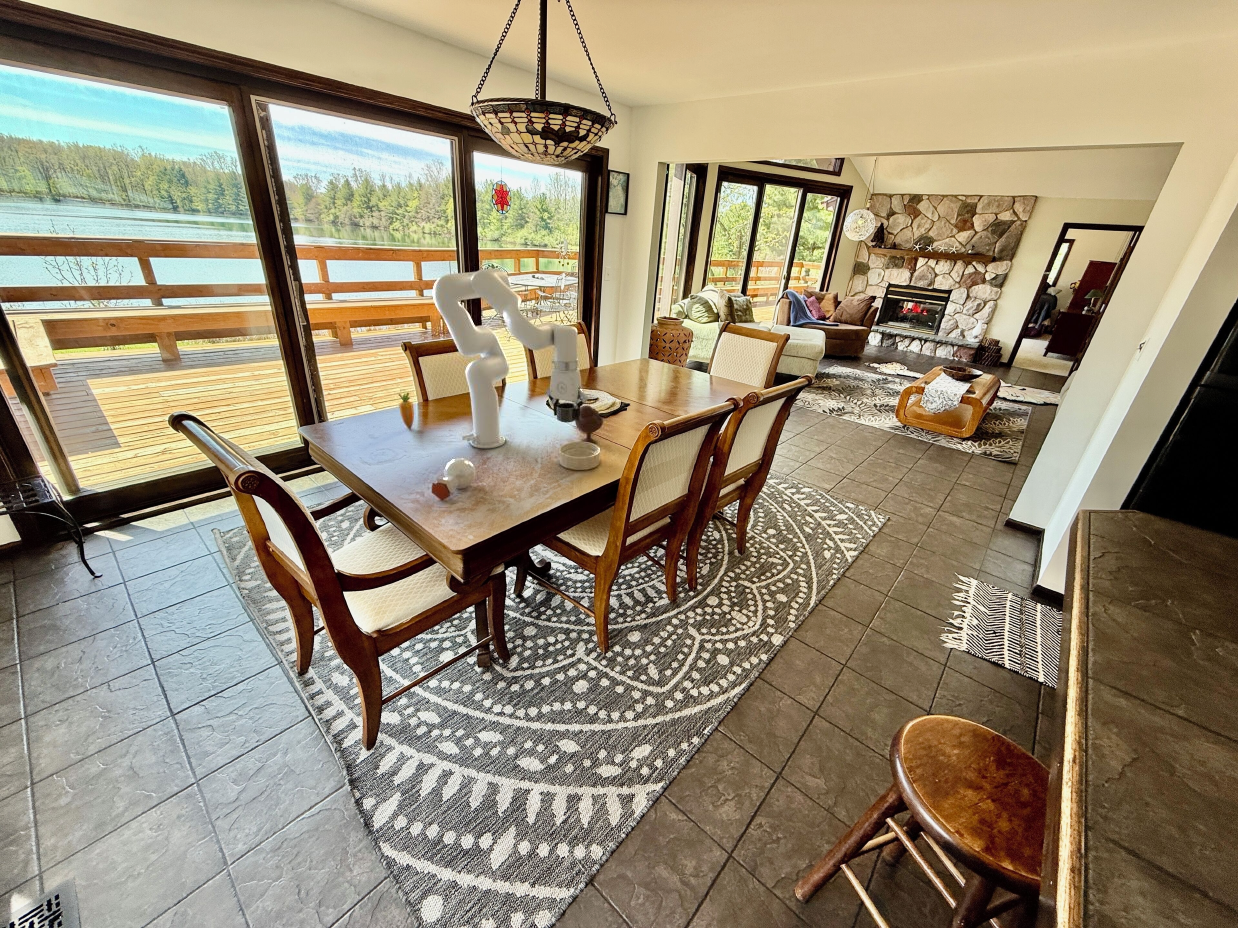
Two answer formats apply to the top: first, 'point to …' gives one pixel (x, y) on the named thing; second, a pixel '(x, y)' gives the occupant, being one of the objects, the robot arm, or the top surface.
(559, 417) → the black bowl
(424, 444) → the top surface
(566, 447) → the cream bowl
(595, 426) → the ice cream bowl
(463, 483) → the potion bottle
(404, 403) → the carrot
